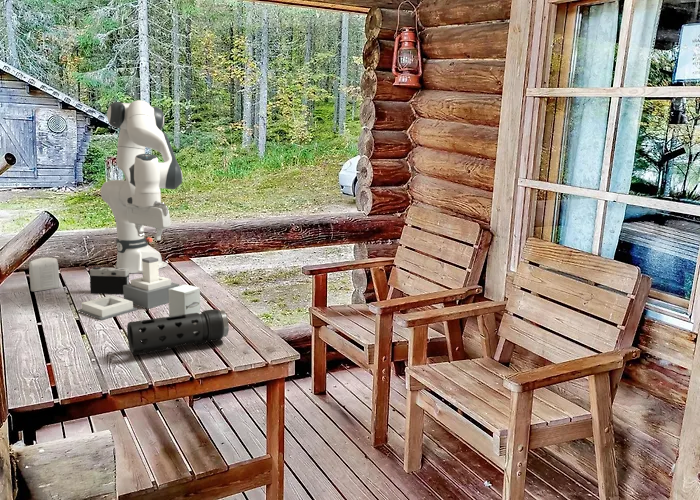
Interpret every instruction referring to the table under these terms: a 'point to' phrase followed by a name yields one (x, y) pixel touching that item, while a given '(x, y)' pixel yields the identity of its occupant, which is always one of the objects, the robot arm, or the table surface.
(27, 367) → the table surface
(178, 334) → the muzzle brake
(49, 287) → the photo printer
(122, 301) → the frame
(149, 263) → the plug
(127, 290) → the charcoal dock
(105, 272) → the camera
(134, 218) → the robot arm
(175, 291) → the supplement box
